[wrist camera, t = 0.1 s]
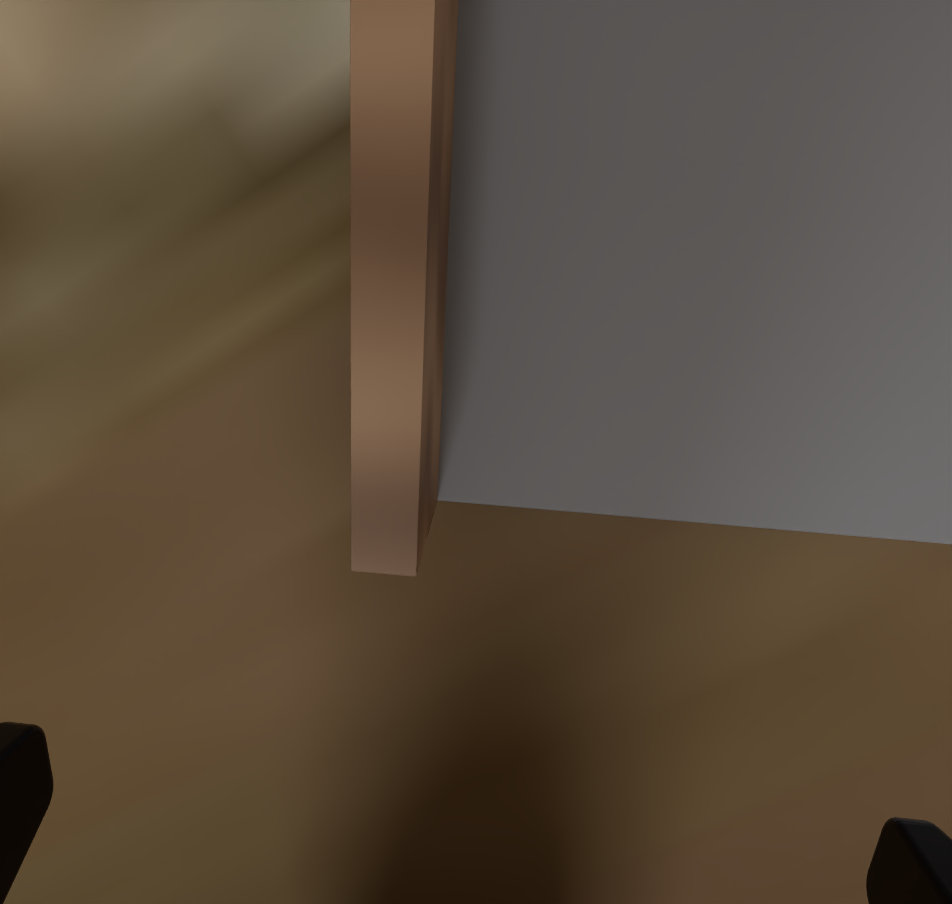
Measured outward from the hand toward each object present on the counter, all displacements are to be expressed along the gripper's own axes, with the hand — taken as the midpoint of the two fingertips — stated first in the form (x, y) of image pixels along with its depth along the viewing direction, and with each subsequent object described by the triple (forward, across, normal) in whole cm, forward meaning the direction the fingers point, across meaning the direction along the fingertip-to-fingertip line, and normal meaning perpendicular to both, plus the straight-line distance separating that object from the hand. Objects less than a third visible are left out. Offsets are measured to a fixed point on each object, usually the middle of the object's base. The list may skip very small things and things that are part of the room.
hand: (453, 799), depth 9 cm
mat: (+15, -6, -5) cm, 16 cm away
